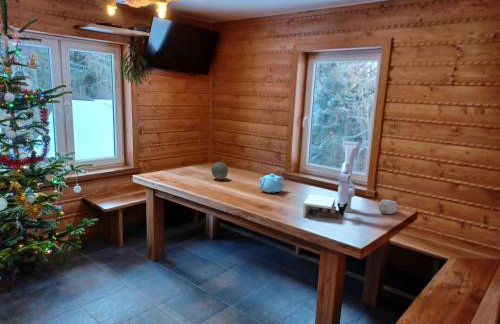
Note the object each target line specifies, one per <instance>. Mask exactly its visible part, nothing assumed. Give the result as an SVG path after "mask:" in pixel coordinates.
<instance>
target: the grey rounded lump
mask: <svg viewBox="0 0 500 324" xmlns="http://www.w3.org/2000/svg"><path fill="white" fill-rule="evenodd" d="M398 206H399V204H398V203H397V201H394V200H392V199H391V200H390V199H381V201H379V204H378V211H379V212H380V214H385V215H392V214H395V213H397V211H398V209H399V207H398Z"/></svg>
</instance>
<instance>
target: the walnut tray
mask: <svg viewBox="0 0 500 324" xmlns="http://www.w3.org/2000/svg"><path fill="white" fill-rule="evenodd" d="M317 217H322V218H327V219H334V220H335V219H336V220H339V218H340V215H339V210H338V209H337V207H336V206H332V208H331V209H328V208H320V209H319V210H317Z"/></svg>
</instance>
